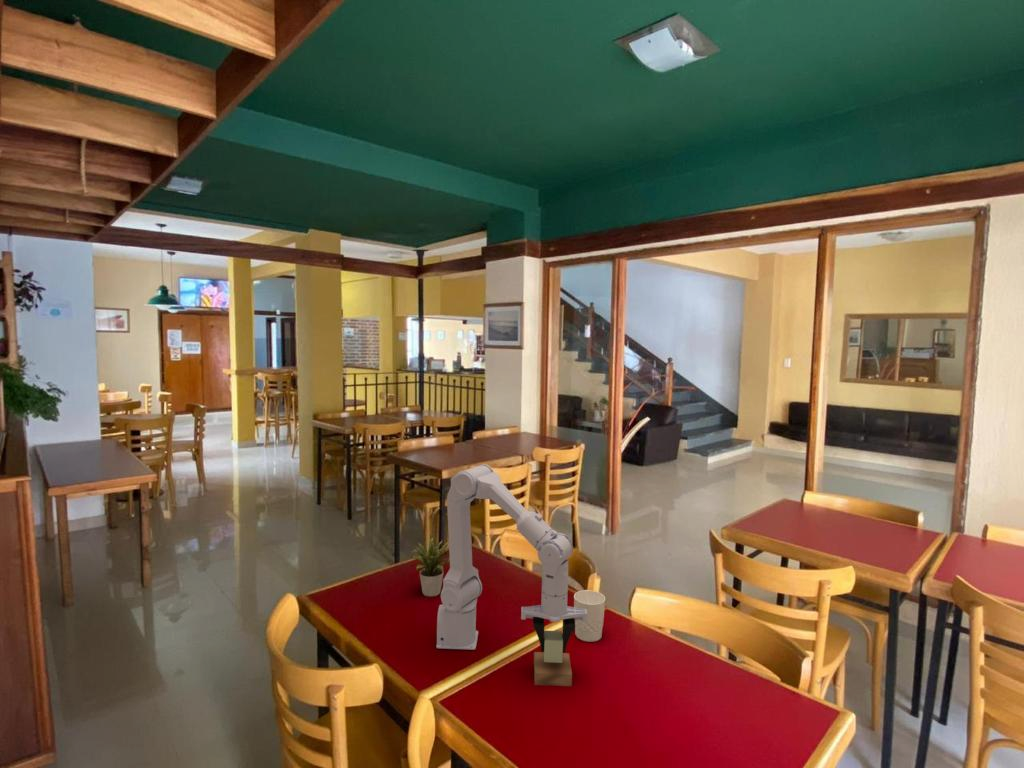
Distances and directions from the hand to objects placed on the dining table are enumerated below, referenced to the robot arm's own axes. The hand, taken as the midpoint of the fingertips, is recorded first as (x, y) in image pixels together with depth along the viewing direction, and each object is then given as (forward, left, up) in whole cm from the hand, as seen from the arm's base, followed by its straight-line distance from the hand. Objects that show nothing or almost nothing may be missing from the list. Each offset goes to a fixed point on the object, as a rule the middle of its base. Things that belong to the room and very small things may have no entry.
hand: (552, 649), depth 119 cm
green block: (0, 0, -2) cm, 2 cm away
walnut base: (0, 0, -6) cm, 6 cm away
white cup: (+10, +17, -6) cm, 21 cm away
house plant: (-34, +36, -6) cm, 50 cm away
